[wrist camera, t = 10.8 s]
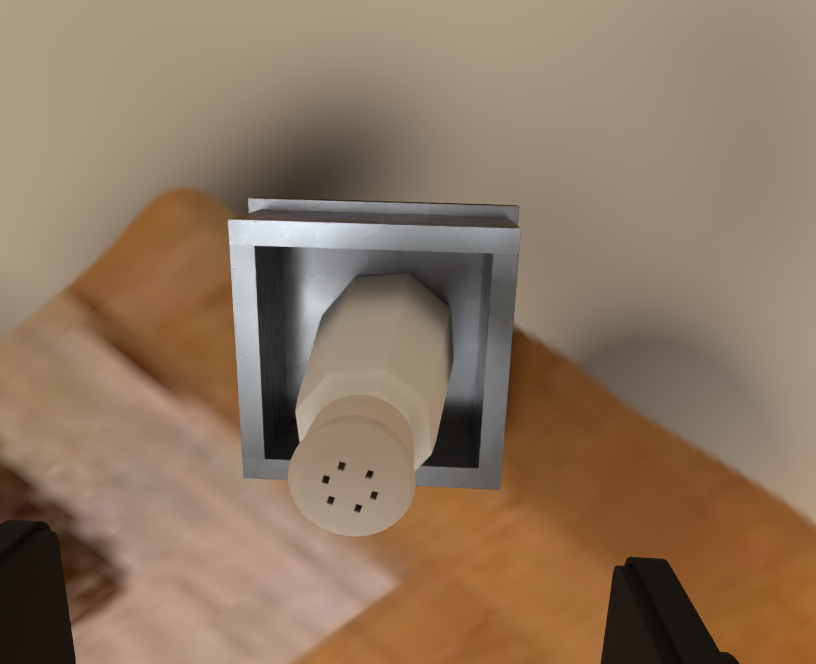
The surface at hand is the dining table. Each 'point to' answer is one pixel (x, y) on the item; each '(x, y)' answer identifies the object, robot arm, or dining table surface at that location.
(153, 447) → the dining table surface
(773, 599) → the dining table surface
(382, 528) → the pepper shaker
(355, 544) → the dining table surface
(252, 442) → the grey square tray
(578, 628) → the dining table surface
